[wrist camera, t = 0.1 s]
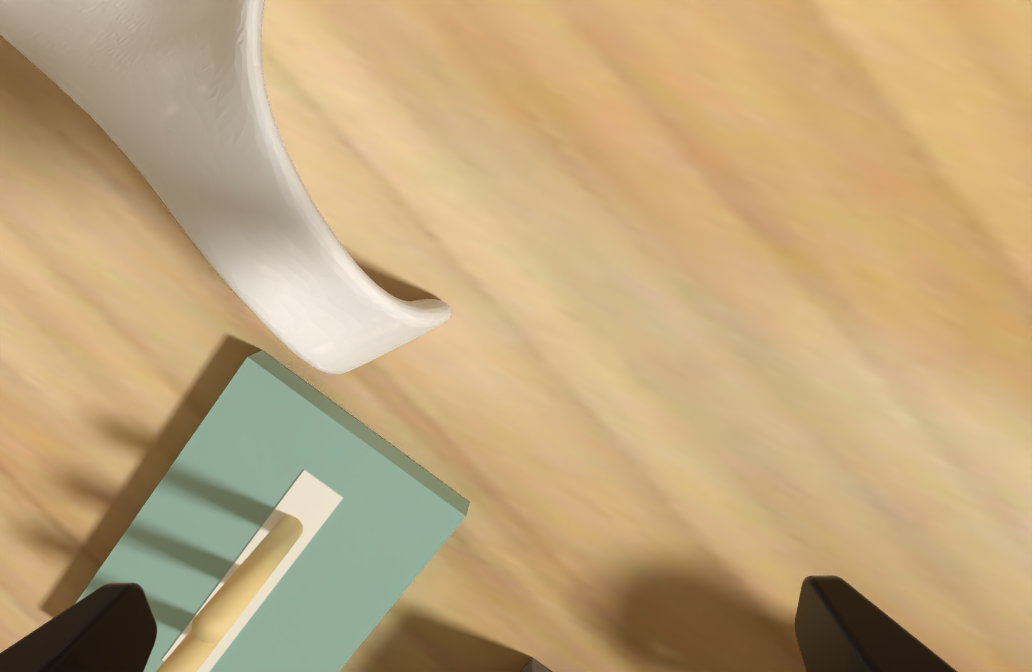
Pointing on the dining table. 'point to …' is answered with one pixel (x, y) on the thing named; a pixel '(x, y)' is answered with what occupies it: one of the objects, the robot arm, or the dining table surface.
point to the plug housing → (535, 667)
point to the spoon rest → (218, 161)
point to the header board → (278, 532)
